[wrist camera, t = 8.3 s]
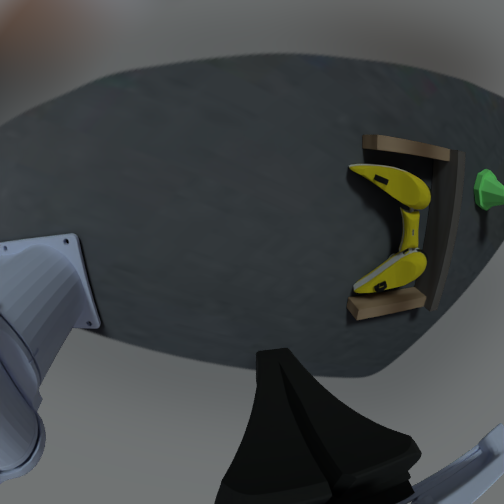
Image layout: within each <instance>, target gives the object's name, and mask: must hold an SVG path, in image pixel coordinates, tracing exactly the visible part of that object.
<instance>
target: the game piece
mask: <svg viewBox="0 0 504 504" xmlns="http://www.w3.org/2000/svg"><path fill="white" fill-rule="evenodd" d="M474 195H475V203H476V204H477V205H478V206H479V207H480V208H482V209H484V210H486V211H487V210H488V209H489V208H491V207H492V206H497V205H503V204H504V186H503V185H502V184H501V183H500V182H499V181H497V180H496V176H495V175H494V174H493V173H492V172H491V171H490V170H487V169H484V170H483V171H481V172H480V173H478V175H477V178H476V182H475V185H474Z"/></svg>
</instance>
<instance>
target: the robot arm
mask: <svg viewBox="0 0 504 504" xmlns="http://www.w3.org/2000/svg"><path fill="white" fill-rule="evenodd" d="M66 239H68V241H69V244H68V243H67V242H66ZM6 247H7V248H6ZM88 321H90V322H91V323H92V324H90V323H89V322H88ZM100 325H101V321H100V318H99V315H98V312H97V309H96V305H95V302H94V299H93V295H92V292H91V288H90V285H89V281H88V277H87V273H86V269H85V265H84V261H83V256H82V252H81V247H80V242H79V238H78V236H77V235H76V234H73V233H71V234H62V235H54V236H45V237H37V238H29V239H22V240H14V241H7V242H0V484H1V483H2V482H4V481H6V480H9V479H13V478H17V477H21V476H23V475H25V474H27V473H28V472H30V471H31V470H32V469H33V468H34V467H35V466H36V465H37V463H38V462H39V460H40V457H41V456H42V454H43V451H44V447H45V441H46V434H45V428H44V424H43V421H42V419H41V417H40V416H39V414H38V413H37V410H38V408H39V406H40V404H41V402H42V397H41V395H40V393H39V387H40V385H41V383H42V381H43V379H44V377H45V375H46V373H47V372H48V370H49V368H50V366H51V364H52V362H53V361H54V359H55V357H56V355H57V353H58V352H59V350H60V348H61V346H62V345H63V343H64V341H65V340H66V338H67V336H68V334H69V332H70V331H71V329H72V328H92V329H97V328H99V327H100ZM256 382H257V388H256V394H255V398H254V404H253V408H252V412H251V415H250V419H249V422H248V425H247V428H246V431H245V434H244V436H243V439H242V442H241V444H240V446H239V448H238V451H237V453H236V455H235V457H234V459H233V461H232V464H231V465H230V467H229V469H228V470H227V472H226V474H225V476H224V477H223V479H222V481H221V485H220V488H219V491H218V493H217V496H216V500H215V504H407V503H409V502H411V501H412V502H411V504H472V503H473V502H474V501H475V500H477V498H479V497H480V496H481V495H482V494H483V493H484V492H485V491H486V490H487V489H488V488H489V487H490V486H491V485H492V484H494V483H495V481H496V480H497V479H498V478H499V477H500V476H501V475H502V474H503V473H504V426H503V425H502V423H500V424H498V425H497V426H496V427H495V428H494V429H493V430H491V431H490V432H489V433H488V434H487V435H486V436H485V437H484V438H483V439H482V440H481V441H480V442H479V443H478V445H476V446H475V447H474V448H472V449H471V450H470V451H468V452H467V453H465V454H464V455H463V456H461V457H460V458H458V459H457V460H455V461H454V462H452V463H451V464H450V465H448V466H446V467H445V468H443V469H441V470H440V471H438V472H437V473H435V474H433V475H431V476H430V477H428V478H426V479H424V480H423V481H421V482H419V483H417V484H415V485H413V486H411V484H410V482H409V480H408V479H410V478H411V476H410V474H409V472H408V470H409V469H410V468H411V467H412V466H413V465H414V464H415V463H416V462H417V461H418V460H419V459H420V457H421V454H422V453H421V451H420V450H419V448H418V446H417V444H416V443H415V441H414V440H413V439H412V437H411V436H409V435H406V434H403V433H400V432H397V431H394V430H391V429H389V428H386V427H384V426H382V425H380V424H377V423H375V422H373V421H371V420H370V419H368V418H366V417H364V416H362V415H360V414H359V413H357V412H355V411H354V410H353V409H351V408H349V407H348V406H347V405H345V404H344V403H342V402H341V401H340V400H338V399H337V398H336V397H335V396H333V395H332V394H331V393H330V392H329V391H328V390H326V389H325V388H324V387H323V386H322V385H321V384H320V383H319V382H318V381H317V380H316V379H315V378H314V377H313V376H312V375H311V374H310V373H309V372H308V371H307V370H306V369H305V368H304V367H303V365H302V364H301V363H300V362H299V361H298V360H297V358H296V357H295V356H294V355H293V353H292V352H291V351H290V350H289V349H288V348H280V349H272V350H263V351H258V352H257V353H256Z"/></svg>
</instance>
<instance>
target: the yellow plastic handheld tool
mask: <svg viewBox="0 0 504 504" xmlns="http://www.w3.org/2000/svg"><path fill="white" fill-rule="evenodd" d="M348 167H349V168H350V169H351V170H352V171H354V172H356V173H358V174H360V175H362V176H363V177H365V178H366V179H368V180H370V181H371V182H373V183H374V184H376V185H377V186H378V187H380V188H381V189H383V190H384V191H385V192H387V193H388V194H390V195H391V196H392V197H394V198H395V199H397V200H398V201H400V202H401V203H403V204H404V205H406V206H408V207H409V208H410V210H405V209H403V208H401V207H400V210H401V214H402V221H403V233H402V240H401V243H400V246H399V252H398V253H396V254H394V253H393V254H391V255H390V256H389V258H388V259H387V260H386V261H385V262H384V263H382V264H381V265H380V266H378V267H377V268H375V269H374V270H373V271H371V272H370V273H369V274H367V275H366V276H364V277H363V278H361V279H360V280H359V281H357V282H356V283H355V284H354V285H353V287H354V292H356V293H372V292H381V291H383V290H386V289H391V288H396V287H400V286H403V285H406V284H408V283H410V282H412V281H414V280H415V279H417V278H418V277H419V276H420V275H421V274H422V273H423V272H424V270H425V268H426V265H427V262H428V257H427V254H426V253H425V252H424V251H423V250H421V249H419V248H417V247H418V227H419V216H420V213H419V211H418V210H414V209H424V208H426V207H427V206H428V205H429V203H430V200H431V197H432V193H431V189H430V188H429V187H428V186H427V185H426V184H425V183H424V182H423V181H422V180H421V179H419V178H418V177H416V176H414V175H413V174H411V173H409V172H407V171H404V170H401V169H398V168H395V167H391V166H385V165H378V164H352V165H349V166H348Z"/></svg>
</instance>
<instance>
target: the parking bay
mask: <svg viewBox="0 0 504 504" xmlns="http://www.w3.org/2000/svg"><path fill="white" fill-rule="evenodd" d="M362 148H364V149H373V150H381V151H389V152H396V153H403V154H409V155H415V156H421V157H427V158H432V159H434V160H433V176H432V188H431V193H432V197H431V200H430V207H429V214H428V221H427V228H426V234H425V240H424V246H423V251H424V252H425V253H426V254H427V257H428V262H427V265H426V268H425V270H424V272H423V273H422V274H421V275H420V276H419V277H418V278H417V279H416V283H415V287H411V288H405V289H399V290H393V291H387V292H381V293H375V294H368V295H361V296H354V297H348V302H347V309H348V310H349V311H350V312H351V314H352V315H353V316H354V318H355V319H356V320H361V319H366V318H371V317H376V316H381V315H386V314H391V313H396V312H400V311H405V310H409V309H414V308H418V307H422V306H424V307H425V308H426V309H428V310H429V311H434V310H437V308H438V305H439V302H440V299H441V296H442V292H443V289H444V285H445V282H446V278H447V274H448V270H449V266H450V262H451V258H452V253H453V249H454V244H455V239H456V234H457V228H458V222H459V216H460V209H461V202H462V193H463V183H464V171H465V152H462V151H458V150H451V149H446V148H442V147H438V146H434V145H430V144H425V143H420V142H416V141H411V140H405V139H400V138H394V137H389V136H382V135H363V146H362Z"/></svg>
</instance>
